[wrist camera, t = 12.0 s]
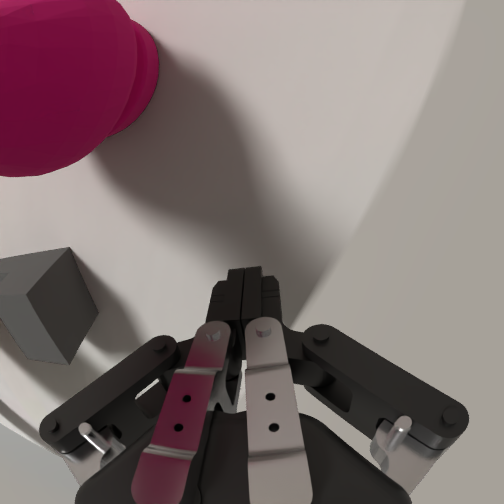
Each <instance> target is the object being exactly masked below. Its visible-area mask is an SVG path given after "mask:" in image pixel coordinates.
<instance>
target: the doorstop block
mask: <svg viewBox="0 0 504 504" xmlns="http://www.w3.org/2000/svg"><path fill="white" fill-rule="evenodd" d="M98 313H99V312H98V310H97V308H96V306H95V304H94V302H93V300H92V298H91V296H90V294H89V291H88V289H87V287H86V285H85V283H84V280H83V278H82V276H81V274H80V271H79V269H78V267H77V264H76V262H75V260H74V257H73V255H72V252H71V250H70V247H67V248H61V249H55V250H49V251H43V252H37V253H31V254H25V255H19V256H14V257H8V258H3V259H0V318H1V320H2V321H3V323H4V325H5V326H6V328H7V329H8V331H9V332H10V334H11V336H12V337H13V339H14V340H15V342H16V343H17V344H18V346H19V347H20V349H21V350H22V352H23V353H24V354H25V356H26V357H27V359H32V360H38V361H44V362H50V363H57V364H65V365H70V363H71V361H72V359H73V357H74V356H75V354H76V352H77V350H78V348H79V346H80V345H81V343H82V341H83V339H84V337H85V336H86V334H87V332H88V330H89V329H90V327H91V325H92V323H93V322H94V320H95V318H96V317H97V315H98Z"/></svg>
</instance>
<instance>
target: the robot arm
mask: <svg viewBox="0 0 504 504" xmlns="http://www.w3.org/2000/svg"><path fill="white" fill-rule="evenodd" d="M242 360H246V361H247V369H245V388H246V409H247V411H243V412H239V413H237V404H238V398H239V392H240V386H241V379H242V371H241V367H242ZM157 378H158V380H159V382H158V383H156V384H155V385H154V386H153V387H151V388H150V389H149V390H148V391H146V392H145V393H144V394H142V395H141V396H140V397H139V398H137V399H136V400H135V397H136V395H137V394H138V393H139V392H141V391H142V390H143V389H144V388H146V387H147V386H148V385H150V384H151V383H152V382H153V381H155V380H156V379H157ZM293 383H294V384H300V385H304V387H305V389H306V390H307V391H308V392H310V393H311V394H312V395H313V396H314V397H316V398H317V399H318V400H319V401H321V402H322V403H323V404H325V405H326V406H327V407H328V408H330V409H331V410H332V411H334V412H335V413H336V414H337V415H339V416H340V417H341V418H343V419H344V420H345V421H347V422H348V423H349V424H351V425H352V426H353V427H355V428H356V429H357V430H359V431H360V432H362V433H363V434H364V435H366V436H367V437H368V438H370V439H371V440H372V442H371V445H370V452H371V455H372V457H373V458H374V459H375V460H376V461H377V462H378V464H379V465H380V467H381V470H379V469H378V468H377V467H375V466H374V465H373V464H372V463H370V462H369V461H368V460H367V459H365V458H364V457H363V456H362V455H360V454H359V453H358V452H357V451H355V450H354V449H353V448H352V447H351V446H349V445H348V444H347V443H346V442H344V441H343V440H342V439H341V438H340V437H338V436H337V435H336V434H335V433H334V432H333V431H331V430H330V429H329V428H328V427H327V426H326V425H324V424H323V423H322V422H320V421H319V420H317V419H315V418H313V417H311V416H308V415H305V414H302V413H298V408H297V402H296V396H295V391H294V385H293ZM468 423H469V415H468V412H467V410H466V408H465V407H464V406H463V405H462V404H461V403H459V402H457V401H456V400H454V399H452V398H451V397H449V396H447V395H446V394H444V393H442V392H440V391H439V390H437V389H435V388H434V387H432V386H430V385H429V384H427V383H425V382H423V381H421V380H420V379H418V378H417V377H415V376H413V375H412V374H410V373H408V372H407V371H405V370H403V369H402V368H400V367H398V366H396V365H395V364H393V363H391V362H390V361H388V360H386V359H385V358H383V357H381V356H380V355H378V354H377V353H375V352H373V351H371V350H370V349H368V348H366V347H365V346H363V345H361V344H360V343H358V342H357V341H355V340H353V339H352V338H350V337H349V336H347V335H345V334H344V333H342V332H340V331H339V330H337V329H335V328H334V327H332V326H329V325H324V324H320V325H314V326H311V327H309V328H308V329H307V330H305V332H304V333H303V332H297V331H293V330H290V329H288V328H287V327H286V326H285V325H284V324H283V322H282V311H281V300H280V291H279V282H278V281H277V279H276V278H275V277H274V276H265V277H263V274H262V267H261V266H257V267H247V268H238V269H229V271H228V276H227V280H225V281H218V282H217V284H216V285H215V286H214V287H213V290H212V294H211V299H210V303H209V308H208V313H207V317H206V322H205V324H203V325H202V326H200V327H199V328H198V330H197V332H196V334H195V337H193V338H191V339H188V340H185V341H181V342H178V343H176V340H175V339H174V338H173V337H171V336H167V335H161V336H157V337H154V338H152V339H151V340H149V341H148V342H147V343H145V344H144V345H143V346H141V347H140V348H139V349H137V350H136V351H135V352H133V353H132V354H131V355H129V356H128V357H126V358H125V359H124V360H122V361H121V362H120V363H118V364H117V365H116V366H114V367H113V368H112V369H110V370H109V371H107V372H106V373H105V374H103V375H102V376H101V377H99V378H98V379H96V380H95V381H94V382H92V383H91V384H90V385H88V386H87V387H86V388H84V389H83V390H81V391H80V392H79V393H77V394H76V395H75V396H73V397H72V398H70V399H69V400H68V401H66V402H65V403H64V404H62V405H61V406H59V407H58V408H57V409H55V410H54V411H52V412H51V413H50V414H48V415H47V416H46V417H45V418H44V419H43V420H42V422H41V424H40V428H39V433H40V436H41V438H42V439H43V440H44V441H45V442H46V443H48V444H49V445H50V446H51V447H53V448H54V450H55V451H56V452H58V453H59V454H60V455H61V456H62V457H63V459H64V461H65V462H66V464H67V466H68V467H69V469H70V470H71V472H72V474H73V476H74V477H75V479H76V480H77V482H78V484H79V485H80V488H79V490H78V492H77V494H76V498H75V504H412V501H411V499H410V497H409V495H410V494H411V492H412V491H413V490H414V489H415V488H416V486H417V485H418V484H419V483H420V482H421V480H422V479H423V478H424V476H425V475H426V474H427V473H428V471H429V470H430V468H431V467H432V466H433V464H434V463H435V462H436V461H437V460H438V459H439V458H440V457H441V456H442V455H443V454H444V453H445V452H446V451H447V450H448V448H449V447H450V446H451V445H452V444H453V443H454V442H455V441H456V440H457V439H458V438H459V437H460V435H461V434H462V433H463V432H464V431H465V430H466V428H467V426H468Z"/></svg>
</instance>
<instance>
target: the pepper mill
mask: <svg viewBox="0 0 504 504" xmlns="http://www.w3.org/2000/svg"><path fill="white" fill-rule="evenodd" d="M158 71H159V59H158V53H157V48H156V45H155V43H154V41H153V39H152V37H151V36H150V34H149V33H148V32H147V30H146V29H145V28H143V27H142V26H141V25H140V24H138V23H137V22H135V21H133V20H131V19H130V17H129V15H128V14H127V13H126V11H125V10H124V8H123V7H122V6H121V4H120V3H118V2H117V1H116V0H0V176H6V177H25V176H39V175H43V174H46V173H50V172H53V171H55V170H58V169H61V168H64V167H67V166H69V165H71V164H73V163H75V162H77V161H79V160H80V159H82V158H83V157H85V156H86V155H88V154H89V153H91V152H92V151H93V150H94V149H95V148H96V147H97V146H98V145H99V144H100V143H101V142H102V141H103V140H104V139H105V138H106V137H109V136H111V135H114V134H116V133H118V132H120V131H122V130H123V129H125V128H126V127H128V126H129V125H130V124H131V123H132V122H134V121H135V120H136V119H137V118H138V117H139V116H140V114H141V113H142V112H143V111H144V109H145V108H146V106H147V104H148V103H149V101H150V99H151V97H152V95H153V93H154V90H155V87H156V84H157V79H158Z"/></svg>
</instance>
